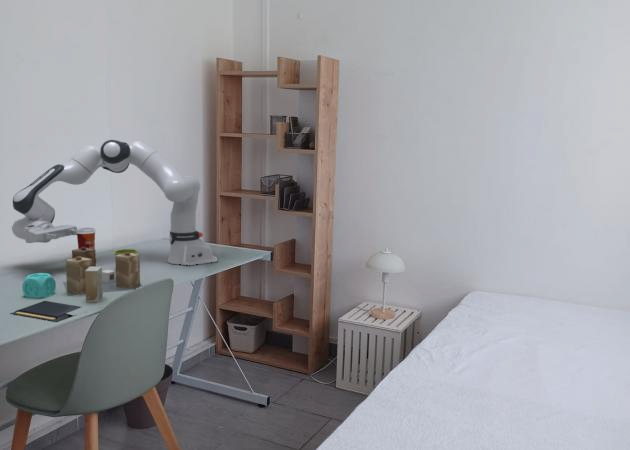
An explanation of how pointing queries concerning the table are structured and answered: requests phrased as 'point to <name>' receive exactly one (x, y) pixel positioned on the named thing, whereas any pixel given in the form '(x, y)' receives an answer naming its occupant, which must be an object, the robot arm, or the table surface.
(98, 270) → the skincare box
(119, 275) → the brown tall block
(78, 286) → the light brown wooden canister
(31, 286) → the decorative dice
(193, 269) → the table surface
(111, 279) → the letter cube
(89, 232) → the coffee cup
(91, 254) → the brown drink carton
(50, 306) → the dark grey book
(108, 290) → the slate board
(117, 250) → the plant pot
